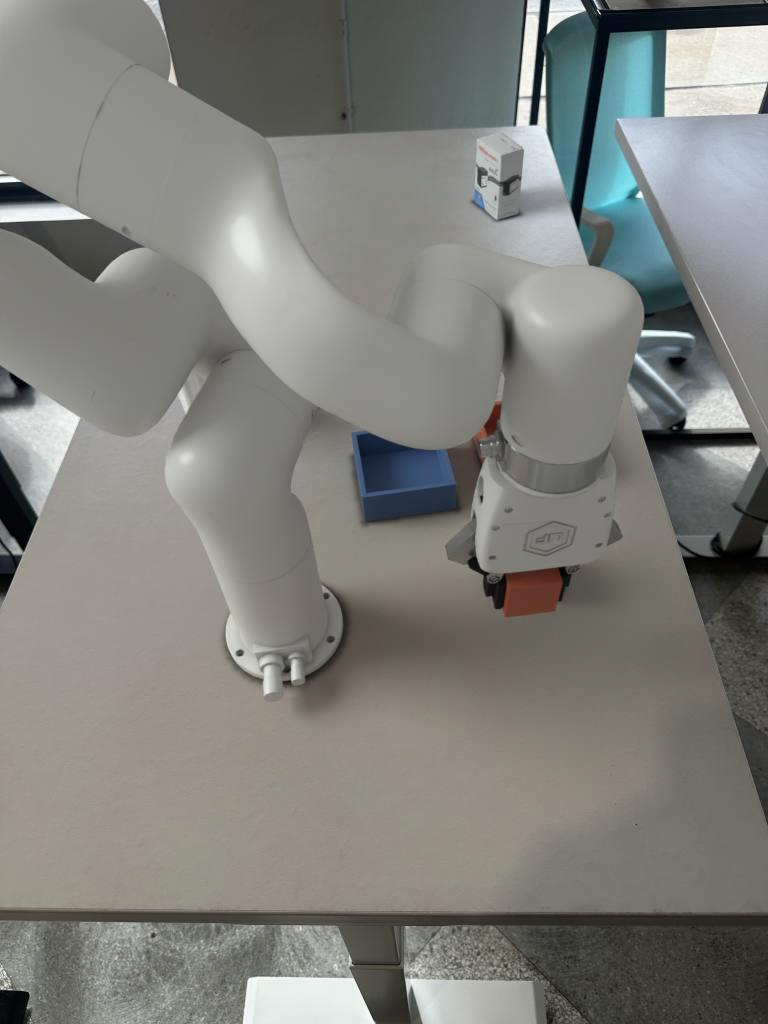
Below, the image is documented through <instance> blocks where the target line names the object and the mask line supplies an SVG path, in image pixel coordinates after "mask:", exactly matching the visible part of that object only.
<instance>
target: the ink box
mask: <svg viewBox="0 0 768 1024" xmlns="http://www.w3.org/2000/svg"><path fill="white" fill-rule="evenodd" d="M475 153H476V155H475V156H476V157H475V173H474V175H475V176H474V196H473V202H474V203H475V204H477V205H478V206H479V207H480V208H481V209H483V210H484V211H485V212H486V213H488V214H489V215H490V216H491V217H492V218H493V219H495V220H496V221H498V220H502V219H505V218H508V217H513V216H515V215H518V214H519V213H520V212H519V211H520V203H521V202H520V200H521V191H522V189H521V188H522V180H523V179H522V178H523V169H524V168H523V167H524V157H525V149H524V147H523V146H522V145H520V144H519V143H518V142H516V141H515V140H513V139H512V138H510V137H509V136H508V135H507V134H505V133H504V132H502V131H499V132H494V133H491V134H487V135H484V136H481V137H477V138H476V152H475Z"/></svg>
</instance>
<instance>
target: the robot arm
mask: <svg viewBox="0 0 768 1024" xmlns="http://www.w3.org/2000/svg"><path fill="white" fill-rule="evenodd" d="M171 59H172V58H171V51H170V48H169V43H168V39H167V37H166V34H165V31H164V30H163V26H162V25H161V22H160V21H159V19H158V18H157V16H156V14H155V13H154V12H153V10H152V7H150V6H149V4H147V2H146V1H145V0H0V171H1V172H2V173H4V174H6V175H9V176H11V177H12V178H14V179H15V180H17V181H19V182H21V183H23V184H25V185H27V186H29V187H30V188H32V189H34V190H36V191H38V192H40V193H42V194H43V195H46V196H48V197H49V198H51V199H53V200H55V201H57V202H59V203H61V204H63V205H65V206H66V207H69V208H70V209H72V210H74V211H76V212H77V213H80V214H82V215H83V216H86V217H88V218H90V219H91V220H94V221H95V222H97V223H99V224H100V225H103V226H105V227H107V228H108V229H110V230H112V231H114V232H116V233H118V234H120V235H121V236H124V237H126V238H128V239H129V240H131V241H133V242H135V243H137V244H138V245H141V246H142V247H138V248H133V249H131V250H127V251H126V252H124V253H122V254H120V255H119V256H118V257H116V258H115V259H114V260H112V261H111V262H110V263H109V264H108V265H107V266H106V268H104V270H103V271H101V273H100V275H99V276H98V277H97V278H96V279H95V281H92V280H91V279H88V278H87V277H85V276H83V275H81V274H80V273H79V272H77V271H75V270H74V269H73V268H71V267H70V266H68V265H67V264H66V263H64V262H63V261H62V260H60V259H59V258H58V257H56V256H55V255H54V254H53V253H52V252H50V250H48V249H46V248H45V247H43V246H42V245H40V244H38V243H37V242H35V241H33V240H31V239H29V238H27V237H25V236H22V235H20V234H17V233H15V232H13V231H9V230H6V229H3V228H0V367H2V368H3V369H5V370H7V371H8V372H10V373H11V374H12V375H13V376H16V377H17V378H19V379H20V380H21V381H23V382H25V383H26V384H27V385H29V386H31V387H32V388H34V389H35V390H37V391H38V392H40V393H41V394H43V395H44V396H46V397H47V398H49V399H50V400H52V401H54V402H55V403H57V404H58V405H59V406H61V407H63V408H64V409H66V410H67V411H69V412H71V414H74V415H75V416H77V417H78V418H79V419H82V420H83V421H85V422H86V423H88V424H90V425H92V426H94V427H96V429H99V430H101V431H102V432H106V433H108V434H110V435H113V436H118V437H122V438H131V437H133V438H134V437H138V436H141V435H144V434H145V433H147V432H149V431H150V430H151V429H152V428H154V427H155V426H156V425H157V424H159V422H160V421H161V419H162V418H163V417H164V416H165V415H166V413H167V412H168V410H169V409H170V407H171V406H172V404H173V403H174V402H175V400H176V398H177V397H178V393H179V392H180V390H181V388H182V387H183V385H184V383H185V382H186V380H187V378H188V377H189V375H190V373H191V372H193V373H195V374H196V375H198V376H199V377H201V378H202V379H204V380H205V383H204V384H203V386H202V388H201V390H200V391H199V393H198V394H197V395H196V397H195V398H194V400H193V402H192V404H191V406H190V408H189V409H188V411H187V413H185V414H184V416H183V418H182V420H181V422H180V424H179V425H178V427H177V429H176V431H175V433H174V435H173V437H172V440H171V443H170V445H169V448H168V451H167V454H166V457H165V461H164V462H165V463H164V480H165V485H166V487H167V490H168V492H169V495H170V496H171V497H172V498H173V500H174V501H175V503H176V504H177V506H178V507H179V508H180V509H181V511H182V512H183V513H184V514H185V516H186V517H187V518H188V519H189V521H190V523H191V524H192V525H193V527H194V529H195V531H196V532H197V534H198V536H199V538H200V541H201V542H202V546H203V547H204V550H205V553H206V555H207V558H208V559H209V562H210V564H211V566H212V568H213V571H214V574H215V576H216V579H217V581H218V585H219V587H220V589H221V592H222V594H223V596H224V599H225V603H226V604H227V607H228V609H229V612H230V613H229V615H228V617H227V620H226V625H225V642H226V645H227V649H228V651H229V653H230V655H231V657H232V658H233V660H234V661H235V663H236V665H238V667H240V668H241V669H242V670H243V671H244V672H245V673H247V674H249V675H251V676H253V677H254V678H257V679H260V680H262V689H263V691H262V693H263V700H264V701H266V702H270V703H274V702H278V701H281V700H283V699H284V683H283V682H287V681H288V682H289V681H290V683H291V685H293V686H302V685H304V684H305V683H306V676H309V675H310V674H311V673H314V672H315V671H317V670H319V669H320V668H321V667H323V665H324V664H325V663H327V662H328V661H329V660H330V659H331V658H332V656H333V655H334V654H335V652H336V651H337V649H338V647H339V645H340V643H341V640H342V636H343V633H344V619H343V618H344V617H343V613H342V609H341V606H340V603H339V601H338V599H337V597H336V596H335V595H334V594H333V593H332V591H331V590H330V589H328V588H327V587H326V586H325V585H323V584H322V581H321V577H320V572H319V567H318V562H317V557H316V553H315V552H316V551H315V547H314V543H313V538H312V532H311V529H310V525H309V520H308V516H307V512H306V509H305V507H304V505H303V503H302V501H301V500H300V499H299V498H298V496H296V494H295V493H293V492H292V479H293V475H294V471H295V467H296V464H297V462H298V459H299V456H300V454H301V451H302V449H303V446H304V442H305V440H306V438H307V435H308V433H309V430H310V427H311V425H312V422H313V420H314V417H315V415H316V411H317V409H318V408H320V409H322V410H323V411H325V412H327V413H329V414H331V415H333V416H335V417H337V418H339V419H341V420H343V421H344V422H347V423H349V424H351V425H353V426H355V427H357V428H359V429H361V430H362V431H367V432H369V433H372V434H374V435H376V436H378V437H381V438H383V439H386V440H388V441H391V442H394V443H397V444H400V445H404V446H408V447H411V448H416V449H424V450H442V449H447V450H448V449H452V448H456V447H458V446H461V445H463V444H465V443H467V442H469V441H470V440H471V439H474V438H473V437H474V436H475V435H476V434H477V433H478V432H479V431H480V430H481V429H482V428H483V426H484V425H485V423H486V422H487V420H488V419H489V417H490V415H491V413H492V410H493V407H494V404H495V402H497V401H496V400H497V397H498V391H499V387H500V382H501V381H500V380H501V376H502V375H503V376H504V377H503V378H504V379H503V380H504V381H503V389H502V390H503V392H502V398H501V399H502V400H501V401H502V407H501V416H500V420H497V427H496V431H495V432H494V433H493V435H489V436H488V438H480V439H478V441H477V447H478V451H477V453H478V457H479V459H480V458H482V457H486V458H485V461H484V463H483V466H482V465H481V469H480V472H479V475H478V478H477V482H476V486H475V489H474V493H473V499H472V504H471V510H470V517H469V522H468V523H467V524H465V526H464V527H463V528H462V529H461V530H459V531H458V532H457V533H456V534H455V535H454V536H453V537H452V538H451V539H449V541H447V542H446V543H445V545H444V549H445V552H446V557H447V560H449V561H450V562H453V563H457V564H458V565H459V564H460V565H462V566H465V565H466V566H468V568H469V569H470V570H472V571H473V572H476V573H477V574H480V575H481V576H483V577H482V578H483V579H482V588H483V592H484V596H485V597H487V598H489V597H491V599H492V602H493V607H494V610H502V607H503V604H504V597H505V591H506V580H505V576H504V574H505V573H513V572H522V571H531V570H540V569H548V568H556V567H558V569H559V572H560V575H561V578H562V581H563V584H562V588H561V591H560V595H559V599H558V603H560V602H563V598H564V594H565V592H566V588H569V587H570V584H571V580H572V576H573V575H574V574H577V573H578V572H580V571H581V565H583V564H587V563H590V562H594V561H596V560H598V559H599V558H600V557H601V556H602V555H603V554H604V552H605V550H606V548H607V547H608V546H610V545H613V544H615V543H616V542H619V541H621V540H622V539H623V533H622V531H621V528H620V526H619V524H618V522H617V521H616V520H615V519H614V512H615V505H616V504H615V503H616V493H617V463H616V461H615V457H614V456H613V455H612V453H611V451H610V449H611V445H612V441H613V437H614V434H615V431H616V426H617V423H618V421H619V420H618V419H619V417H620V413H621V409H622V405H623V401H624V399H625V398H624V397H625V394H626V392H627V391H626V390H627V387H628V383H629V379H630V377H631V372H632V368H633V364H634V362H635V359H636V355H637V351H638V348H639V344H640V341H641V338H642V334H643V333H642V332H643V329H644V323H645V307H644V303H643V300H642V297H641V295H640V294H639V292H638V290H637V289H636V287H635V286H634V285H632V284H631V282H630V281H628V280H627V279H625V278H624V277H623V276H621V275H620V274H618V273H616V272H614V271H611V270H609V269H606V268H603V267H600V266H596V265H588V264H577V263H576V264H564V265H557V266H548V265H545V264H544V265H543V264H539V263H536V262H531V261H527V260H524V259H521V258H517V257H514V256H510V255H508V254H504V253H502V252H498V251H494V250H491V249H487V248H484V247H481V246H476V245H472V244H467V243H462V242H444V243H437V244H434V245H430V246H427V247H425V248H424V249H422V250H421V251H419V252H417V253H416V254H415V255H414V256H413V257H412V258H411V259H410V260H409V262H408V263H407V264H406V265H405V268H404V269H403V271H402V273H401V276H400V278H399V280H398V283H397V286H396V288H395V292H394V295H393V298H392V300H391V303H390V306H389V309H388V311H387V313H386V315H385V318H384V317H383V316H381V315H379V314H377V313H375V312H374V311H372V310H370V309H369V308H367V307H365V306H364V305H362V304H361V303H360V302H358V301H357V300H355V299H353V298H352V297H351V296H350V295H348V294H347V293H346V292H345V291H343V290H342V289H341V288H340V287H339V286H337V285H336V284H335V282H333V280H331V279H330V278H329V277H328V276H327V275H326V273H324V272H323V271H322V269H321V268H320V267H319V265H318V264H317V263H316V261H315V260H314V259H313V258H312V256H311V255H310V254H309V252H308V250H307V249H306V247H305V245H304V244H303V242H302V240H301V238H300V236H299V234H298V232H297V230H296V227H295V224H294V222H293V219H292V217H291V214H290V210H289V208H288V207H289V206H288V203H287V199H286V195H285V190H284V186H283V181H282V178H281V173H280V168H279V164H278V160H277V156H276V153H275V151H274V149H273V147H272V145H271V144H270V143H269V142H268V140H267V139H266V138H265V137H264V136H263V135H262V134H260V132H257V131H255V130H254V129H252V128H251V127H249V126H247V125H245V124H244V123H242V122H240V121H238V120H236V119H235V118H232V117H231V116H229V115H227V114H225V113H224V112H222V111H220V110H219V109H218V108H215V107H214V106H212V105H210V104H209V103H207V102H205V101H203V100H202V99H200V98H198V97H196V96H194V95H193V94H192V93H190V92H188V91H186V90H184V89H183V88H181V87H179V86H178V85H176V84H174V83H172V82H170V81H169V80H170V75H171V69H172V68H171V67H172V60H171ZM501 374H502V375H501Z"/></svg>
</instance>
